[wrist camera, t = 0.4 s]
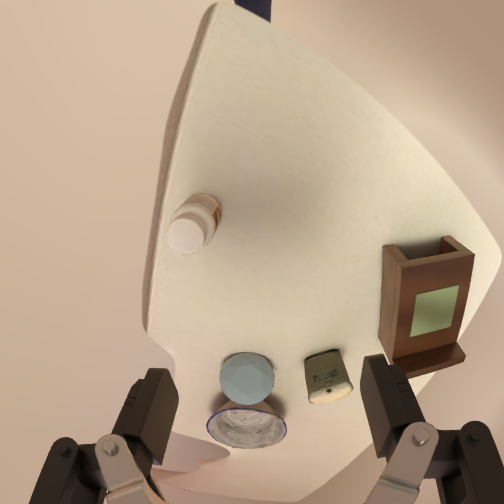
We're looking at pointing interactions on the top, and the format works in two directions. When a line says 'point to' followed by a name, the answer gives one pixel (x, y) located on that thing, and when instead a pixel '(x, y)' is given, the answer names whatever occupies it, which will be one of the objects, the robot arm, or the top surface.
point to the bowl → (247, 425)
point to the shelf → (424, 307)
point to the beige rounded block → (326, 377)
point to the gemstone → (247, 378)
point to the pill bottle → (193, 224)
